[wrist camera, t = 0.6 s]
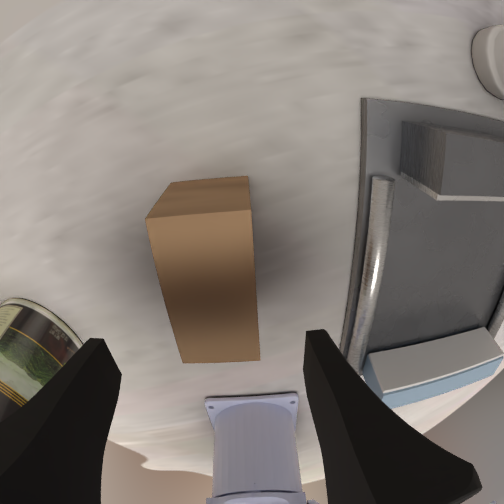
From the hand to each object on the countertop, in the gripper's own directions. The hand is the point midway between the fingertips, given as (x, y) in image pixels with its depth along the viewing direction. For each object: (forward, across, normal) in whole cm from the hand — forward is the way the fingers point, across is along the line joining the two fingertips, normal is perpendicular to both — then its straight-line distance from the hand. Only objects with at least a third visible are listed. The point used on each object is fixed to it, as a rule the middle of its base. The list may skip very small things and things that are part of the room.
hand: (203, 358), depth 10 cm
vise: (+8, -16, +2) cm, 18 cm away
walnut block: (+8, 0, 0) cm, 8 cm away
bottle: (+8, -18, -12) cm, 23 cm away
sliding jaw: (+7, -16, +10) cm, 20 cm away
